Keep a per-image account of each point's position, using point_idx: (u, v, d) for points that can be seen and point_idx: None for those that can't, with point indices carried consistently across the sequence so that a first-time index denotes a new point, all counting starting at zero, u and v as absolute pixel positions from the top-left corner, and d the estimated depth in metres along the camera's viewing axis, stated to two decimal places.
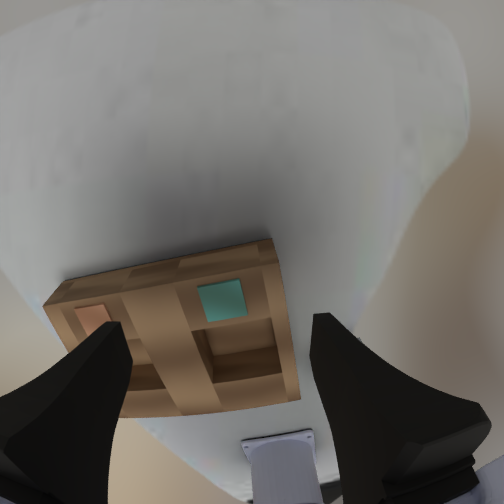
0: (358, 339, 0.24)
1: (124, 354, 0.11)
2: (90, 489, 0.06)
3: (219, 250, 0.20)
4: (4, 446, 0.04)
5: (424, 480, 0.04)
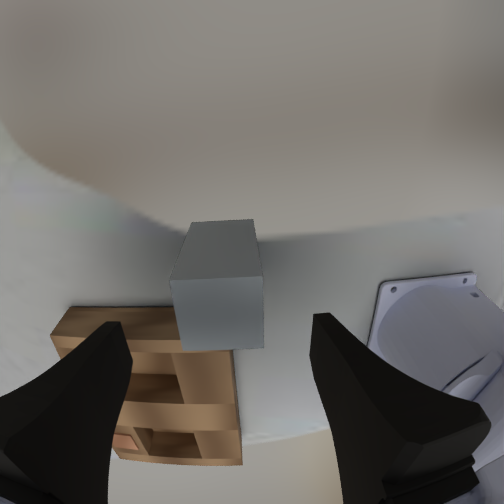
0: None
1: (124, 354, 0.11)
2: (90, 489, 0.06)
3: None
4: (4, 446, 0.04)
5: (424, 480, 0.04)
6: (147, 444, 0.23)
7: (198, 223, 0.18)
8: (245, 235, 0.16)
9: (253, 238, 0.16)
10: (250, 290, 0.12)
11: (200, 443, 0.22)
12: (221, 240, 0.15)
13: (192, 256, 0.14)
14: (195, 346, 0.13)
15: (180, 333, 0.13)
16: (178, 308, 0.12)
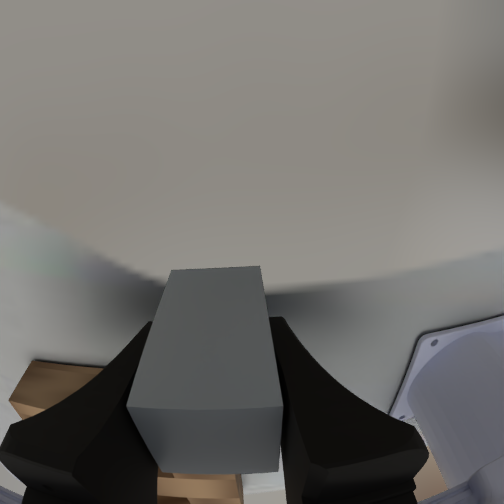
0: None
1: None
2: (144, 499, 0.06)
3: None
4: (72, 468, 0.04)
5: (350, 502, 0.04)
6: None
7: (181, 273, 0.12)
8: (250, 302, 0.10)
9: (263, 307, 0.10)
10: (262, 422, 0.07)
11: None
12: (211, 313, 0.10)
13: (165, 348, 0.08)
14: (179, 470, 0.08)
15: (155, 458, 0.07)
16: (147, 436, 0.07)
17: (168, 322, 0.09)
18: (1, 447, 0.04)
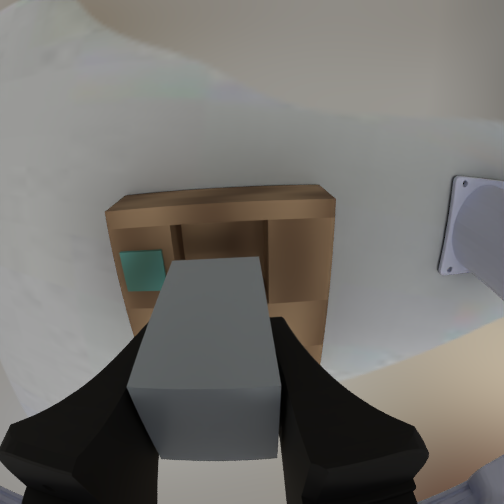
0: None
1: None
2: (144, 499, 0.06)
3: None
4: (72, 468, 0.04)
5: (350, 502, 0.04)
6: None
7: (182, 263, 0.13)
8: (249, 289, 0.11)
9: (261, 294, 0.10)
10: (260, 403, 0.07)
11: None
12: (211, 299, 0.10)
13: (166, 333, 0.08)
14: (178, 456, 0.08)
15: (155, 443, 0.08)
16: (147, 419, 0.07)
17: (169, 308, 0.10)
18: (1, 447, 0.04)
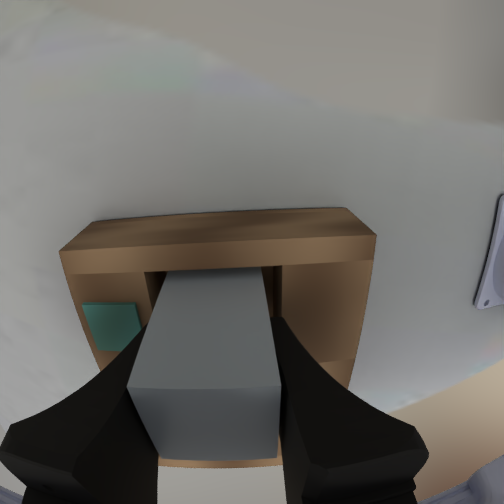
0: None
1: None
2: (144, 499, 0.06)
3: None
4: (72, 468, 0.04)
5: (350, 502, 0.04)
6: None
7: None
8: (249, 289, 0.11)
9: (261, 295, 0.10)
10: (260, 402, 0.07)
11: None
12: (211, 299, 0.10)
13: (166, 332, 0.08)
14: (178, 456, 0.08)
15: (155, 443, 0.08)
16: (147, 418, 0.07)
17: (169, 308, 0.10)
18: (1, 447, 0.04)
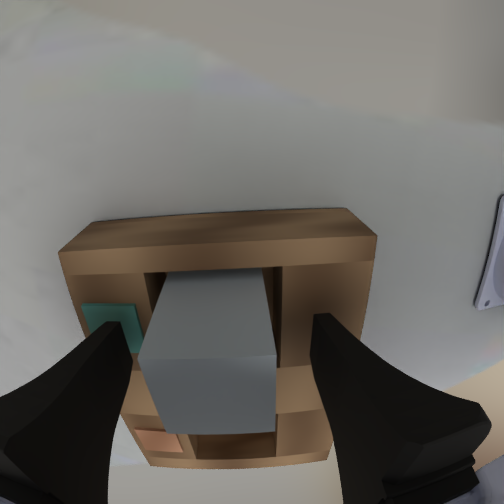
0: None
1: (124, 354, 0.11)
2: (90, 489, 0.06)
3: None
4: (4, 446, 0.04)
5: (424, 480, 0.04)
6: (194, 443, 0.17)
7: None
8: (248, 274, 0.12)
9: (259, 279, 0.11)
10: (258, 372, 0.08)
11: (282, 433, 0.15)
12: (214, 283, 0.11)
13: (172, 312, 0.09)
14: (183, 430, 0.09)
15: (161, 417, 0.09)
16: (155, 391, 0.08)
17: (175, 291, 0.11)
18: None
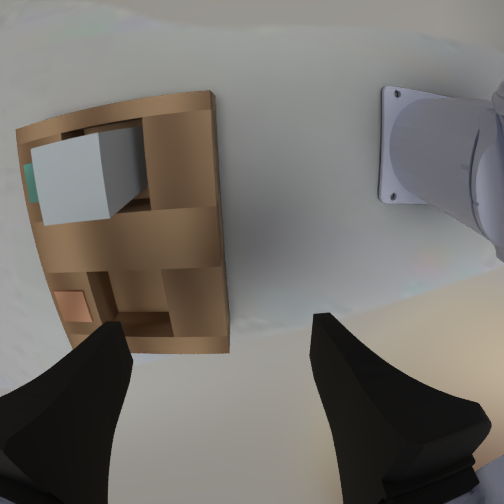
0: None
1: (124, 354, 0.11)
2: (90, 489, 0.06)
3: None
4: (4, 446, 0.04)
5: (424, 480, 0.04)
6: (105, 318, 0.20)
7: None
8: None
9: (127, 128, 0.14)
10: (89, 148, 0.11)
11: (170, 300, 0.18)
12: None
13: None
14: (52, 219, 0.12)
15: (40, 204, 0.12)
16: (37, 176, 0.11)
17: None
18: None
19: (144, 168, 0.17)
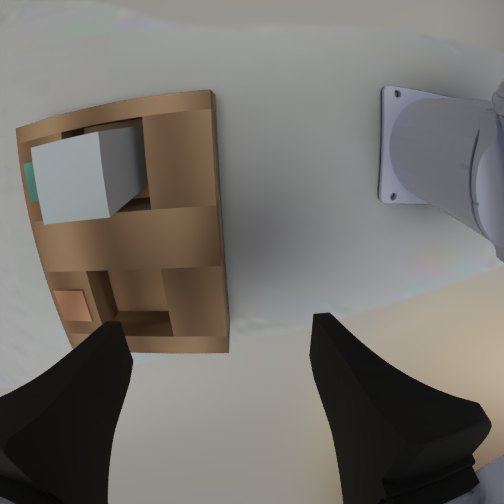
0: None
1: (124, 354, 0.11)
2: (90, 489, 0.06)
3: None
4: (4, 446, 0.04)
5: (424, 480, 0.04)
6: (105, 317, 0.20)
7: None
8: None
9: (127, 127, 0.14)
10: (89, 147, 0.11)
11: (170, 299, 0.18)
12: None
13: None
14: (52, 218, 0.12)
15: (40, 203, 0.12)
16: (37, 175, 0.11)
17: None
18: None
19: (144, 167, 0.17)
